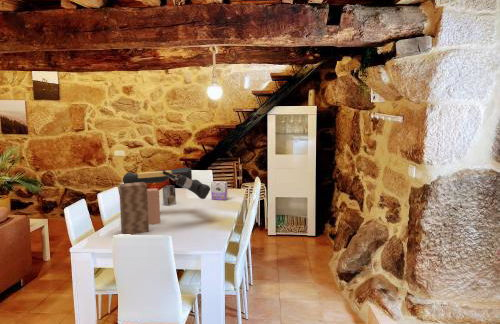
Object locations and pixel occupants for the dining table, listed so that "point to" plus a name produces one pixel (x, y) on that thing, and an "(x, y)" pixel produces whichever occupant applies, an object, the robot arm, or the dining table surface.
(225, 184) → the candy box
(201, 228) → the dining table surface
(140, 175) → the dowel
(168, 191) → the coffee box
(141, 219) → the plinth
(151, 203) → the terracotta base
